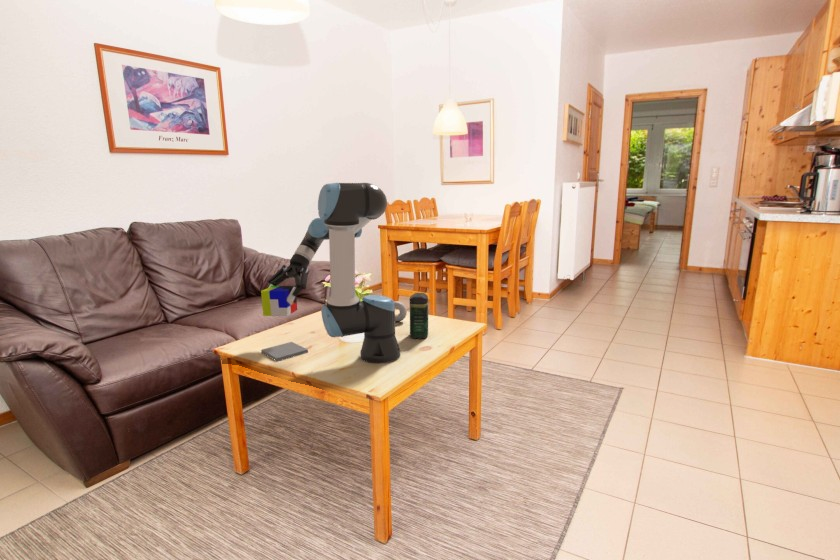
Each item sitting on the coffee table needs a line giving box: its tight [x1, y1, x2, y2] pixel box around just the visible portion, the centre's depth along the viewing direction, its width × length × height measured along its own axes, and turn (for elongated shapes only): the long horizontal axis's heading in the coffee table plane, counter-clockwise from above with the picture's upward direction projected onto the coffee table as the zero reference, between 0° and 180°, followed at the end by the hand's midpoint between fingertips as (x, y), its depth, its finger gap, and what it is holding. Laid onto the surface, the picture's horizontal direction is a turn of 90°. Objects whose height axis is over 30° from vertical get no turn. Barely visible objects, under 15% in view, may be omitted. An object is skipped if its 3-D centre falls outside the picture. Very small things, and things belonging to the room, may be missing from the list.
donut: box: [393, 300, 408, 322], centre depth 216 cm, size 10×4×10 cm, turn 71°
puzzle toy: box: [260, 285, 298, 317], centre depth 182 cm, size 10×10×10 cm
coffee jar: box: [409, 292, 429, 339], centre depth 194 cm, size 10×8×19 cm
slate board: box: [260, 341, 309, 362], centre depth 178 cm, size 13×13×1 cm
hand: (276, 300), depth 181 cm, fingers closed on puzzle toy, 13 cm apart
